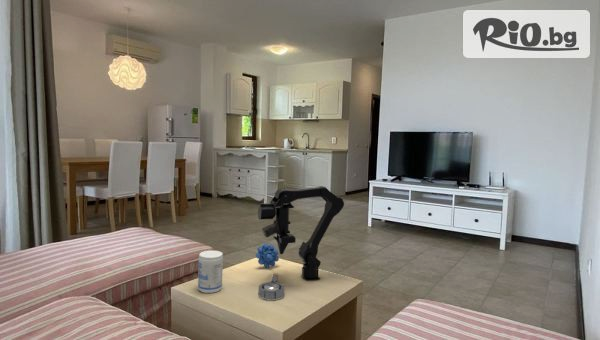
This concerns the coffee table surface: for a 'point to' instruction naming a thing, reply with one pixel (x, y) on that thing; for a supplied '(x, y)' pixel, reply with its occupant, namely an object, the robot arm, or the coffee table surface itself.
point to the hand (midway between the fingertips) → (281, 254)
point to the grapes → (267, 255)
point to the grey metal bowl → (271, 288)
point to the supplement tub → (210, 271)
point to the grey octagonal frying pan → (272, 294)
